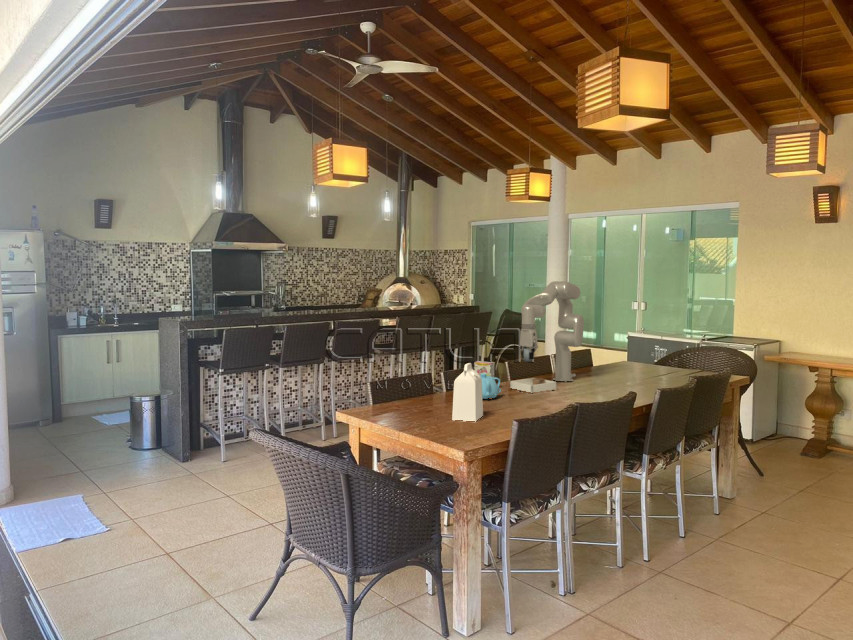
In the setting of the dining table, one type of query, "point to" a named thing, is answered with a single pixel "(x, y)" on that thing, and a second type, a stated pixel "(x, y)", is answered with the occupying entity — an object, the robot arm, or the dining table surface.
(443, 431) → the dining table surface
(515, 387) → the tote
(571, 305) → the robot arm
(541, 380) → the walnut cube
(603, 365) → the dining table surface
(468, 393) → the milk
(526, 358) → the slate capsule
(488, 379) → the decorative pot
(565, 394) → the dining table surface
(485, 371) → the candy bar box
